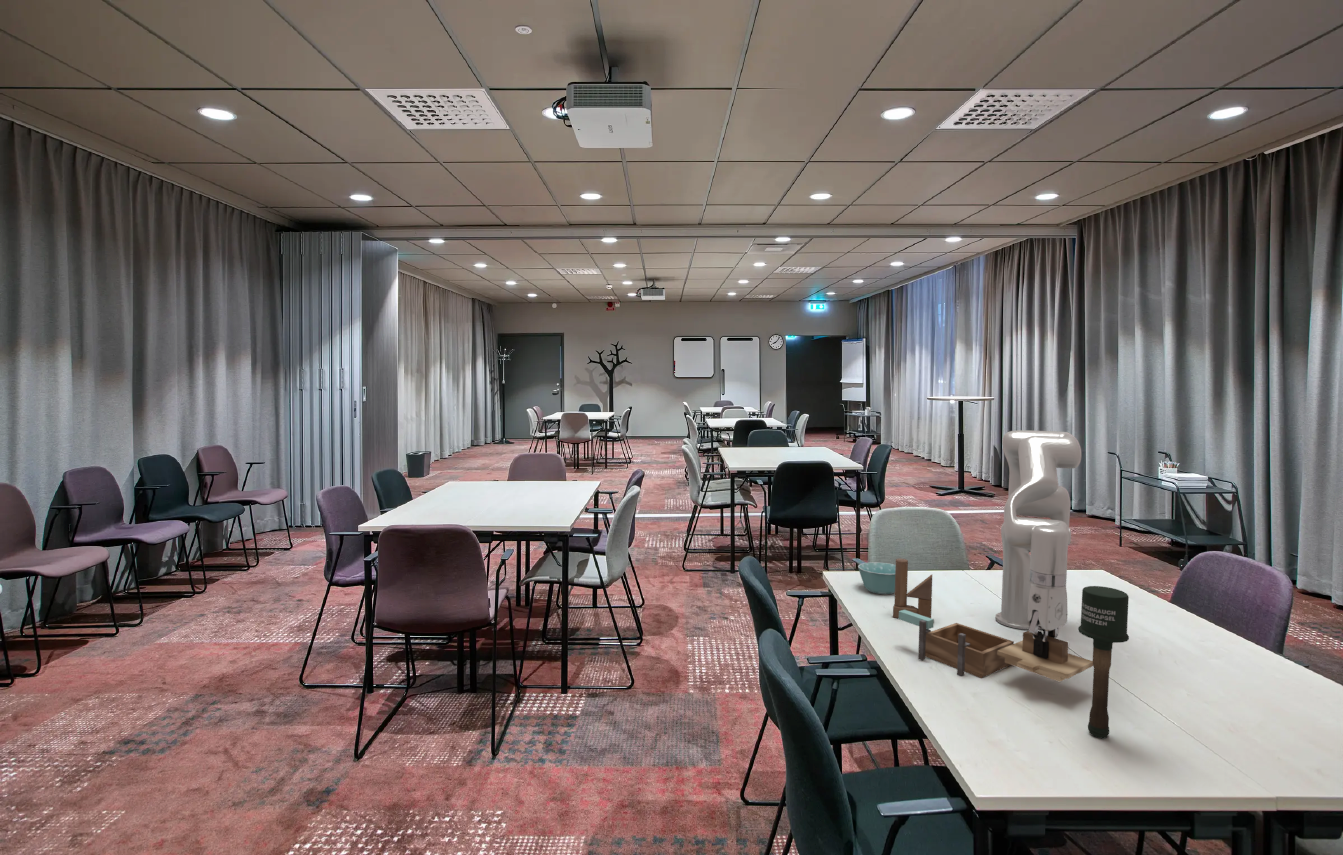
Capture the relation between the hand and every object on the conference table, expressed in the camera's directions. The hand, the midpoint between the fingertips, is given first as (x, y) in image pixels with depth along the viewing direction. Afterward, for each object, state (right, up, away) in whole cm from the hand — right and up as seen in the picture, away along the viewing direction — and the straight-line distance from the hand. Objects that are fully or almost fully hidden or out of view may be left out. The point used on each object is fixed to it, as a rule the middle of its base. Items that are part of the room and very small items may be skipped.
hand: (1044, 654), depth 156 cm
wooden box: (-12, -7, +15) cm, 21 cm away
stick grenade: (-1, -10, -21) cm, 23 cm away
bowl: (-15, -3, +74) cm, 75 cm away
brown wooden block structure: (-15, -5, +46) cm, 49 cm away
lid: (-1, -3, -1) cm, 3 cm away
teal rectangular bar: (-23, +1, +21) cm, 31 cm away
